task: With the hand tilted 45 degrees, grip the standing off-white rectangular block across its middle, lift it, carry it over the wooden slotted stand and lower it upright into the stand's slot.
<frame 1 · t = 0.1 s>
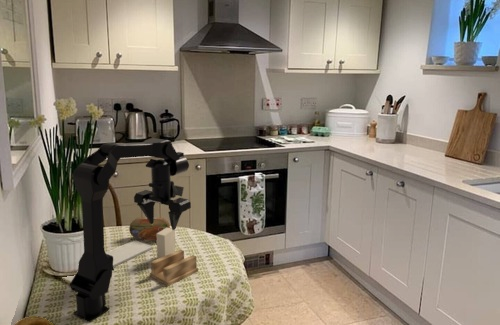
hand: (162, 226, 126), 15 cm above the table, tool pointing down, fingers open, 9 cm apart
tin: (150, 239, 152), on the table
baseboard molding: (106, 262, 134), on the table
off-white rectangular block: (166, 258, 137), on the table
wooden slotted stand: (174, 273, 127), on the table
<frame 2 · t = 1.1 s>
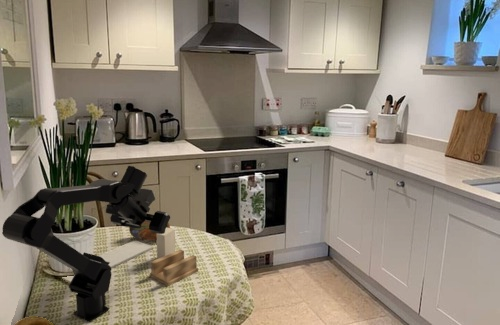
hand: (152, 229, 127), 13 cm above the table, tool tilted 45°, fingers open, 9 cm apart
nothing on the table moved.
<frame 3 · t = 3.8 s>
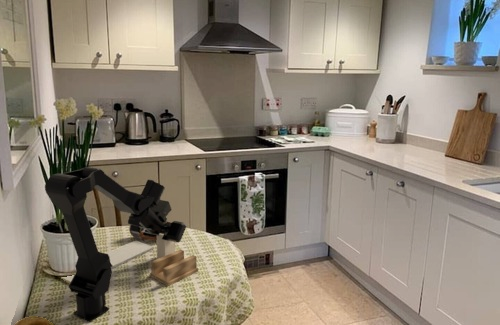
hand: (168, 237, 136), 7 cm above the table, tool tilted 45°, fingers closed on off-white rectangular block, 3 cm apart
off-white rectangular block: (166, 258, 137), on the table, touching gripper
everything else where it was.
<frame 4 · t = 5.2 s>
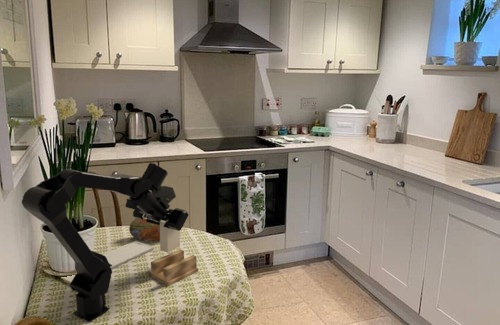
hand: (172, 226, 130), 13 cm above the table, tool tilted 45°, fingers closed on off-white rectangular block, 3 cm apart
off-white rectangular block: (170, 248, 130), point 6 cm above the table, touching gripper
everything else where it was.
when the fingers open (9 cm above the table, at t = 6.9 s): off-white rectangular block stays where it is, resting on wooden slotted stand.
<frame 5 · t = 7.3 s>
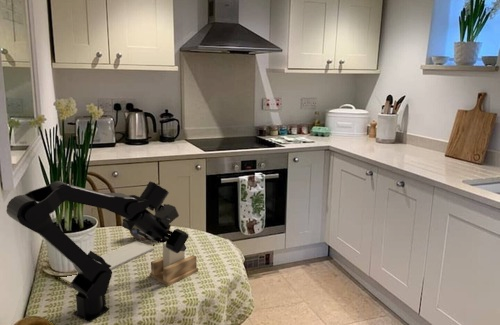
hand: (177, 245, 126), 9 cm above the table, tool tilted 45°, fingers open, 7 cm apart
off-white rectangular block: (174, 270, 127), point 1 cm above the table, touching wooden slotted stand
everything else where it was.
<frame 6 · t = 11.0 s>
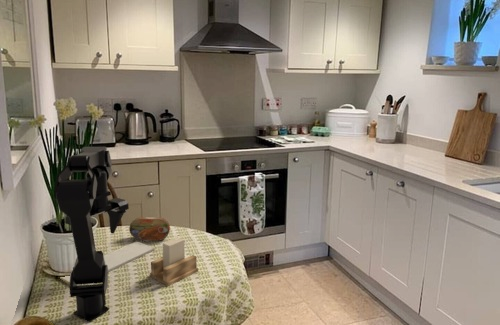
hand: (100, 238, 121), 13 cm above the table, tool pointing down, fingers open, 9 cm apart
at the end: off-white rectangular block inside the target area on the wooden slotted stand (0.0 cm from its centre), point 1.0 cm above the wooden slotted stand's base; off-white rectangular block tilted 0°; the gripper is holding nothing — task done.
